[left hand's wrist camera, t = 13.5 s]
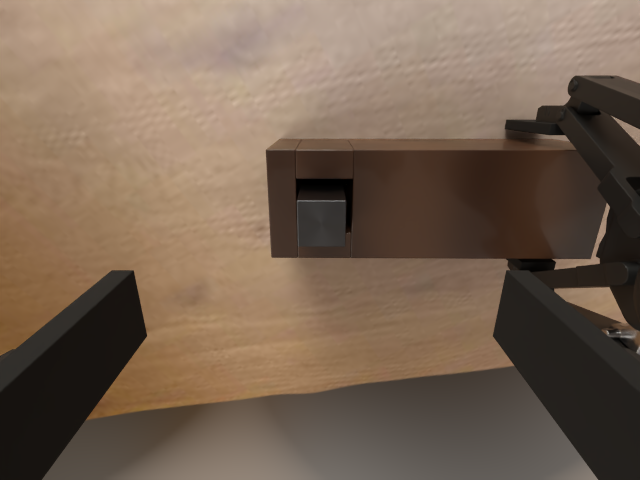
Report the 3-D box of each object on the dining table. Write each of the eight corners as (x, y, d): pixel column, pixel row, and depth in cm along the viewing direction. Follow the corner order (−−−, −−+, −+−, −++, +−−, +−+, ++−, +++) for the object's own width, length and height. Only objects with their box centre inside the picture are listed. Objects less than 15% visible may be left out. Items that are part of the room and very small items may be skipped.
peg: (306, 199, 34) (297, 247, 23) (306, 167, 33) (296, 200, 22) (338, 199, 34) (345, 247, 23) (339, 167, 33) (346, 200, 22)
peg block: (282, 224, 35) (271, 257, 27) (279, 138, 32) (265, 149, 25) (533, 225, 35) (591, 259, 27) (552, 139, 32) (622, 149, 24)
